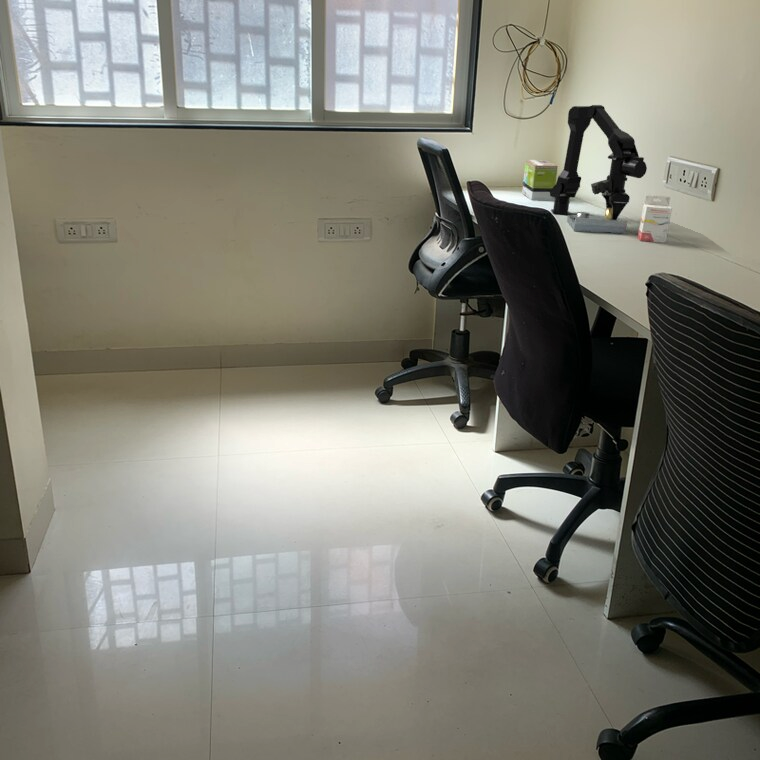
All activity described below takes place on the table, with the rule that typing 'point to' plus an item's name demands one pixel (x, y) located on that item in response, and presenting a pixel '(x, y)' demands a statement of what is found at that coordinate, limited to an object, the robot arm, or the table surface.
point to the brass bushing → (608, 214)
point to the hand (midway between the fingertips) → (611, 218)
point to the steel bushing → (583, 215)
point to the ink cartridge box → (655, 219)
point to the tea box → (539, 179)
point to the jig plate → (597, 224)
